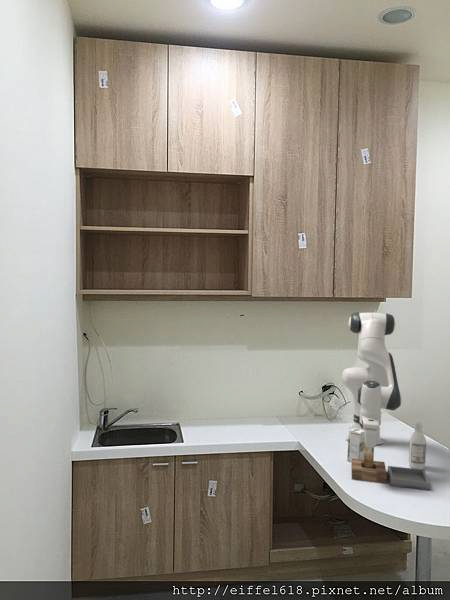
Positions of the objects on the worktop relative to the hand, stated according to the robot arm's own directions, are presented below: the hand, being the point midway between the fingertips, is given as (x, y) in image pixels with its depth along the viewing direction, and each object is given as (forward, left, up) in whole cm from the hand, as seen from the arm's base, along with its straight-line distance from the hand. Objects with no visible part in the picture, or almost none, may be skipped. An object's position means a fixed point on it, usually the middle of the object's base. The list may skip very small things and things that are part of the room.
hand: (369, 451), depth 216 cm
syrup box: (-16, -5, -11) cm, 20 cm away
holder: (0, 0, -10) cm, 10 cm away
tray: (+2, +16, -10) cm, 19 cm away
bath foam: (-17, +22, -11) cm, 30 cm away
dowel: (0, 0, -7) cm, 7 cm away
